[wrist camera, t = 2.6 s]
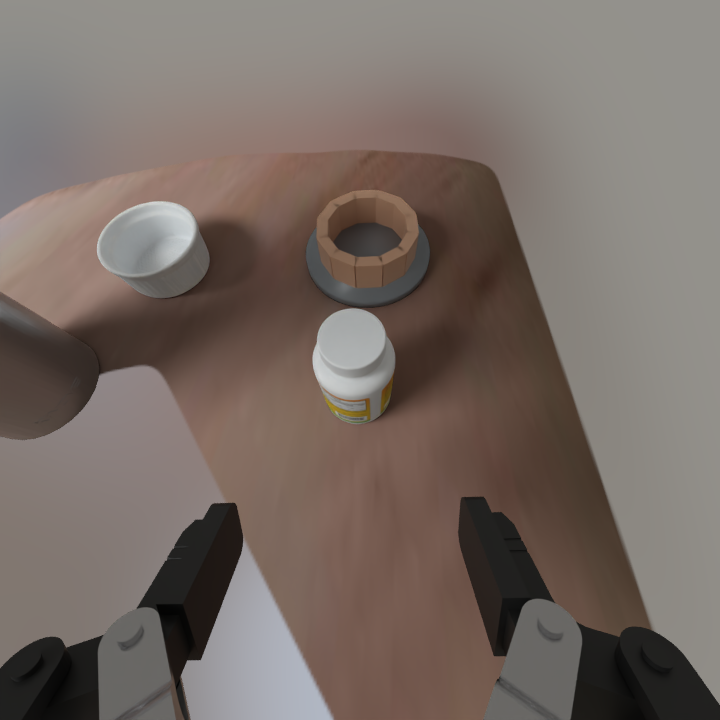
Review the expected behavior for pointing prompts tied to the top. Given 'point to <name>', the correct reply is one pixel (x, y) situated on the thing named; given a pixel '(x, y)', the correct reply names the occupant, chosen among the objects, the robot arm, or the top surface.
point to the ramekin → (155, 249)
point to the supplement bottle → (354, 365)
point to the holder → (367, 249)
